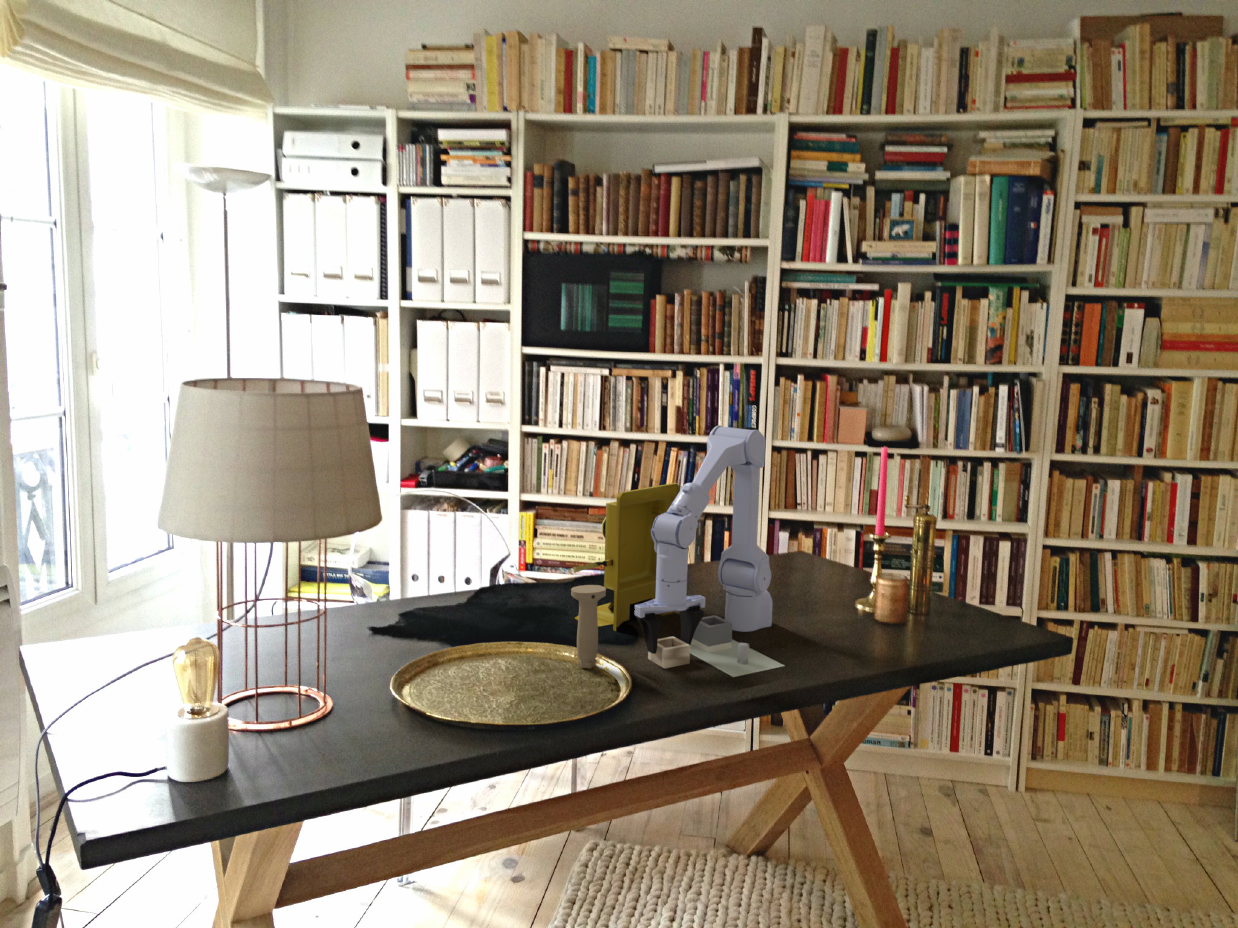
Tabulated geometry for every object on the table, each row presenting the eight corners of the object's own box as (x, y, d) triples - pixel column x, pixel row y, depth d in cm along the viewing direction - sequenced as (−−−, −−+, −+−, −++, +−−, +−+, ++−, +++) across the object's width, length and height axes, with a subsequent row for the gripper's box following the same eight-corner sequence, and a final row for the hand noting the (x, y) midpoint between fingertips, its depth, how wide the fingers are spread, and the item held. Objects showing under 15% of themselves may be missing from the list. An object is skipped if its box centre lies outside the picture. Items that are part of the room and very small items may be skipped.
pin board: (720, 640, 205) (721, 616, 204) (784, 673, 188) (786, 647, 187) (671, 649, 199) (672, 625, 198) (733, 684, 182) (734, 658, 181)
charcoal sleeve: (714, 639, 201) (715, 615, 200) (731, 647, 197) (732, 623, 196) (691, 643, 198) (692, 619, 198) (707, 652, 194) (709, 627, 193)
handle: (607, 668, 188) (609, 590, 186) (575, 672, 186) (576, 594, 183) (597, 659, 193) (599, 583, 190) (566, 663, 190) (567, 586, 188)
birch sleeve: (672, 661, 193) (673, 636, 192) (689, 670, 188) (690, 645, 187) (647, 666, 190) (648, 640, 189) (664, 675, 185) (665, 650, 184)
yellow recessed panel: (653, 597, 233) (657, 469, 227) (699, 612, 223) (704, 478, 218) (550, 627, 211) (552, 485, 206) (596, 644, 201) (600, 496, 196)
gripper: (650, 588, 179) (647, 661, 181) (716, 578, 186) (713, 649, 189) (629, 578, 185) (627, 649, 187) (694, 569, 192) (691, 637, 195)
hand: (668, 648), depth 188 cm, fingers open, 7 cm apart
